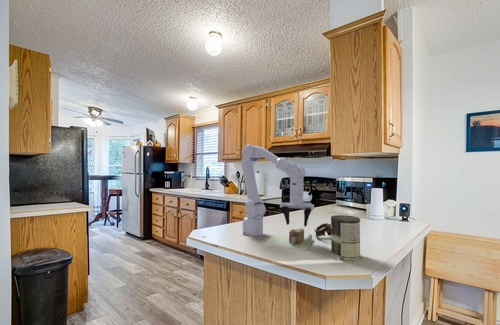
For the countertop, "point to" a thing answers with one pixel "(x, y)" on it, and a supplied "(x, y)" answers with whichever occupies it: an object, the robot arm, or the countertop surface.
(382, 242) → the countertop surface
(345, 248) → the coffee can
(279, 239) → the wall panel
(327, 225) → the brown clay pot
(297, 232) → the brown block
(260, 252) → the countertop surface
